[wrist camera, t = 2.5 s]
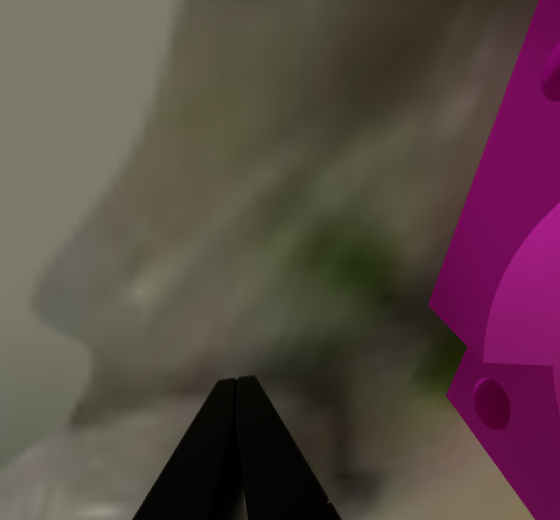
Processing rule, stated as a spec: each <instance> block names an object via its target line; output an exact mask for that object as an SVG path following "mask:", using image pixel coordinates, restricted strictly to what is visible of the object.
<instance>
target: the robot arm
mask: <svg viewBox="0 0 560 520" xmlns="http://www.w3.org/2000/svg"><path fill="white" fill-rule="evenodd" d="M244 492H245V499H246V506H247V513H248V520H342V519H341V517H340V516H339V514H338V512H337V511H336V509H335V507H334V506H333V504H332V503H329V498H328V496H327V495H326V493H325V491H324V490H323V488H322V486H321V485H320V483H319V481H318V480H317V478H316V476H315V475H314V473H313V471H312V470H311V468H310V466H309V465H308V463H307V461H306V460H305V458H304V456H303V455H302V453H301V451H300V450H299V448H298V446H297V445H296V443H295V441H294V440H293V438H292V436H291V435H290V433H289V431H288V430H287V428H286V426H285V425H284V423H283V421H282V420H281V418H280V416H279V415H278V413H277V411H276V410H275V408H274V406H273V405H272V403H271V401H270V400H269V398H268V396H267V395H266V393H265V391H264V390H263V388H262V386H261V385H260V383H259V381H258V380H257V378H256V377H255V376H254V375H250V376H242V377H238V379H237V380H236V379H235V378H227V379H220V380H218V381H217V383H216V384H215V386H214V387H213V389H212V391H211V392H210V394H209V396H208V397H207V399H206V400H205V402H204V404H203V405H202V407H201V409H200V410H199V412H198V413H197V415H196V417H195V418H194V420H193V422H192V423H191V425H190V426H189V428H188V430H187V431H186V433H185V435H184V436H183V438H182V439H181V441H180V443H179V444H178V446H177V448H176V449H175V451H174V452H173V454H172V456H171V457H170V459H169V461H168V462H167V464H166V465H165V467H164V469H163V470H162V472H161V474H160V475H159V477H158V478H157V480H156V482H155V483H154V485H153V487H152V488H151V490H150V492H149V493H148V495H147V496H146V498H145V500H144V501H143V503H142V505H141V506H140V508H139V509H138V511H137V513H136V514H135V516H134V518H133V519H132V520H243V508H244Z"/></svg>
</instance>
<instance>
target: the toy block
mask: <svg viewBox="0 0 560 520" xmlns="http://www.w3.org/2000/svg"><path fill="white" fill-rule="evenodd" d="M428 306H429V307H430V308H431V309H432V310H433V311H434V312H435V313H436V314H437V315H438V316H439V317H440V318H441V319H442V320H443V321H444V322H445V323H446V324H447V325H448V326H449V327H450V328H451V330H452V331H453V332H454V333H455V334H456V335H457V336H458V337H459V338H460V339H461V340H462V341H463V342H464V343H465V344H466V345H467V346H468V347H467V349H466V351H465V354H464V356H463V358H462V360H461V363H460V365H459V367H458V369H457V372H456V374H455V376H454V379H453V381H452V383H451V385H450V388H449V390H448V392H447V394H446V396H447V398H448V399H449V400H450V402H451V403H452V405H453V406H454V407H455V409H456V410H457V412H458V413H459V414H460V416H461V417H462V418H463V420H464V421H465V423H466V424H467V425H468V427H469V428H470V430H471V431H472V432H473V434H474V435H475V437H476V438H477V439H478V441H479V442H480V443H481V445H482V446H483V448H484V449H485V450H486V452H487V453H488V455H489V456H490V457H491V459H492V460H493V462H494V463H495V464H496V466H497V467H498V468H499V470H500V471H501V473H502V474H503V475H504V477H505V478H506V480H507V481H508V482H509V484H510V485H511V487H512V488H513V489H514V491H515V492H516V493H517V495H518V496H519V498H520V499H521V500H522V502H523V503H524V505H525V506H526V507H527V509H528V510H529V512H530V513H531V514H532V516H533V517H534V518H535V520H560V0H539V1H538V4H537V7H536V10H535V12H534V15H533V18H532V21H531V23H530V26H529V29H528V32H527V34H526V37H525V40H524V43H523V45H522V48H521V51H520V54H519V56H518V59H517V62H516V65H515V67H514V70H513V73H512V76H511V78H510V81H509V84H508V87H507V89H506V92H505V95H504V97H503V100H502V103H501V106H500V108H499V111H498V114H497V117H496V119H495V122H494V125H493V128H492V130H491V133H490V136H489V139H488V141H487V144H486V147H485V150H484V152H483V155H482V158H481V161H480V163H479V166H478V169H477V172H476V174H475V177H474V180H473V183H472V185H471V188H470V191H469V194H468V196H467V199H466V202H465V205H464V207H463V210H462V213H461V216H460V218H459V221H458V224H457V227H456V229H455V232H454V235H453V238H452V240H451V243H450V246H449V249H448V251H447V254H446V257H445V260H444V262H443V265H442V268H441V271H440V273H439V276H438V279H437V282H436V284H435V287H434V290H433V293H432V295H431V298H430V301H429V304H428Z"/></svg>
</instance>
